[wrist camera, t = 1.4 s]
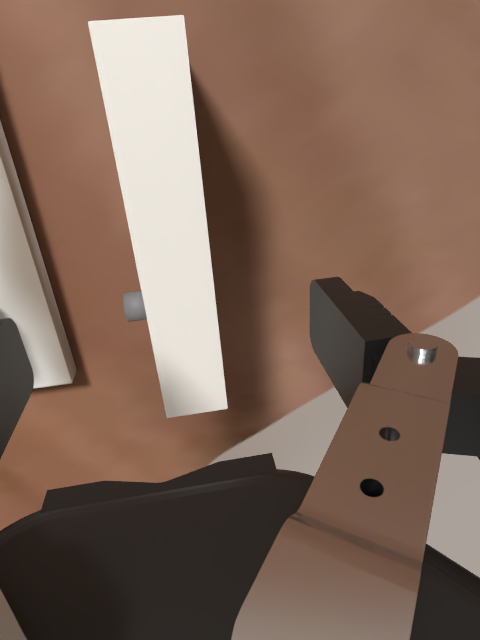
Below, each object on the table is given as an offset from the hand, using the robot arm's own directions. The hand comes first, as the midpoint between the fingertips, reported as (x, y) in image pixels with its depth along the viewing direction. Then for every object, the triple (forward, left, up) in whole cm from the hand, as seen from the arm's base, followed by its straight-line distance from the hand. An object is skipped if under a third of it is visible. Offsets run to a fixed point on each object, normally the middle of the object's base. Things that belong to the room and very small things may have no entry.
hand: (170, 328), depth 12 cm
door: (0, 0, -15) cm, 15 cm away
